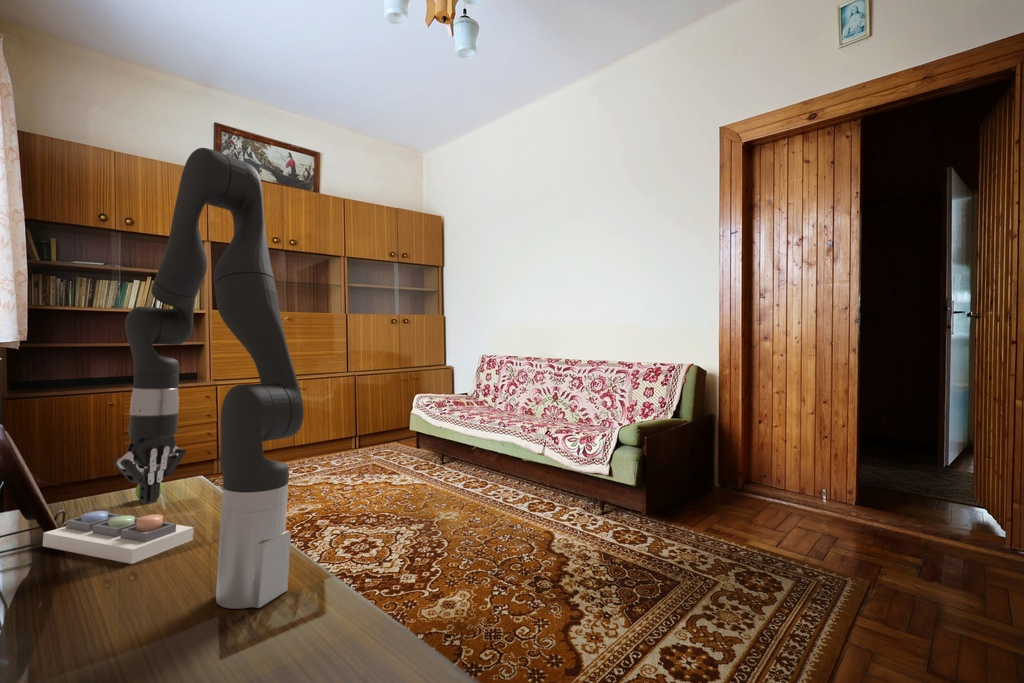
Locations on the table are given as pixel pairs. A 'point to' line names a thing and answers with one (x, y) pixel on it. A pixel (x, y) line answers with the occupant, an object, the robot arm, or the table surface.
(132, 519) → the sage button
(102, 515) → the slate button
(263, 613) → the table surface
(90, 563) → the table surface
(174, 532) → the button panel
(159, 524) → the salmon button
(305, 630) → the table surface
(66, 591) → the table surface
